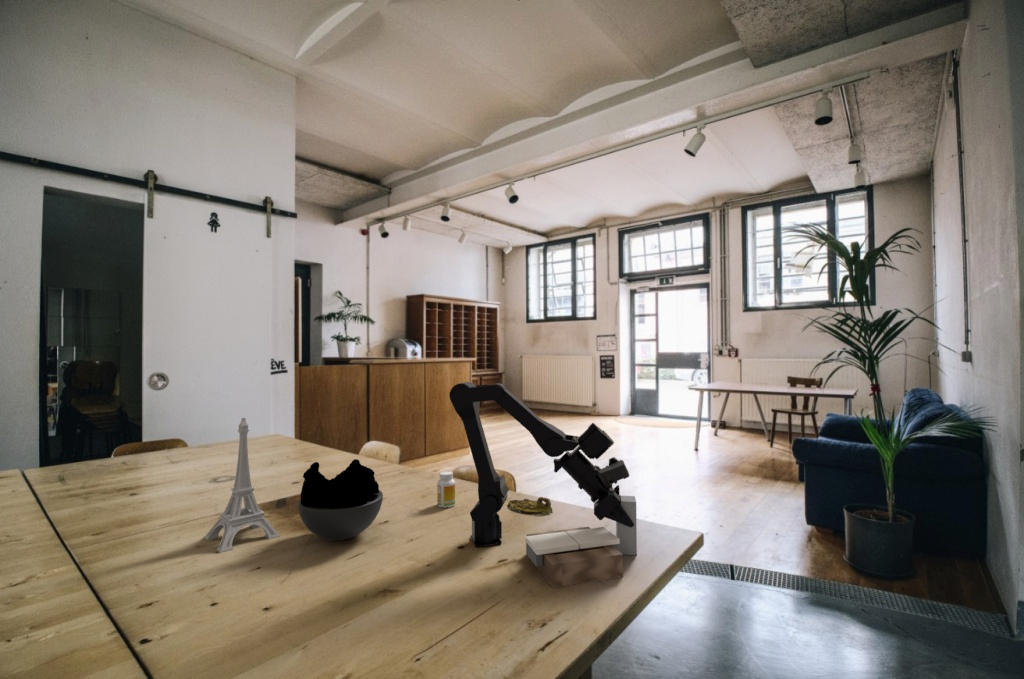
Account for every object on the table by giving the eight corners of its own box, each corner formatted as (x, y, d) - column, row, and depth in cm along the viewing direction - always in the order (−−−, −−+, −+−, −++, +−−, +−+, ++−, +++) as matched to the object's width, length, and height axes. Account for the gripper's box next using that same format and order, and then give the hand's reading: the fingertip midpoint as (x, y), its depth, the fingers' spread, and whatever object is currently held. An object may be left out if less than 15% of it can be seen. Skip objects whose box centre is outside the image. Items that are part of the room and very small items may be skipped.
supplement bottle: (458, 503, 144) (458, 471, 144) (450, 509, 139) (450, 475, 139) (442, 501, 146) (442, 470, 146) (434, 507, 141) (434, 474, 141)
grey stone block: (617, 553, 108) (616, 501, 108) (616, 546, 112) (615, 495, 112) (636, 555, 107) (636, 502, 107) (635, 547, 111) (634, 496, 111)
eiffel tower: (203, 538, 118) (205, 418, 119) (260, 523, 128) (262, 413, 129) (220, 553, 109) (221, 423, 110) (280, 536, 119) (281, 417, 119)
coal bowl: (399, 530, 122) (399, 457, 123) (341, 561, 104) (342, 475, 105) (341, 518, 131) (341, 451, 131) (278, 545, 113) (279, 466, 113)
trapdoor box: (552, 587, 92) (552, 564, 92) (526, 554, 107) (526, 534, 108) (623, 576, 97) (622, 554, 97) (588, 545, 112) (588, 526, 112)
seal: (500, 513, 139) (546, 521, 131) (499, 498, 138) (545, 505, 131) (515, 501, 147) (559, 508, 139) (514, 486, 146) (558, 493, 139)
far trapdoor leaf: (603, 542, 108) (603, 526, 109) (619, 555, 101) (619, 539, 101) (566, 547, 106) (566, 531, 106) (580, 561, 99) (580, 544, 99)
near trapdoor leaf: (536, 567, 96) (536, 550, 96) (525, 552, 103) (525, 536, 103) (578, 561, 99) (578, 544, 99) (564, 547, 106) (564, 531, 106)
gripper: (609, 458, 101) (662, 512, 99) (607, 441, 120) (652, 487, 118) (572, 492, 103) (625, 547, 100) (576, 471, 121) (620, 517, 119)
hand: (632, 522), depth 109 cm, fingers closed on grey stone block, 4 cm apart
